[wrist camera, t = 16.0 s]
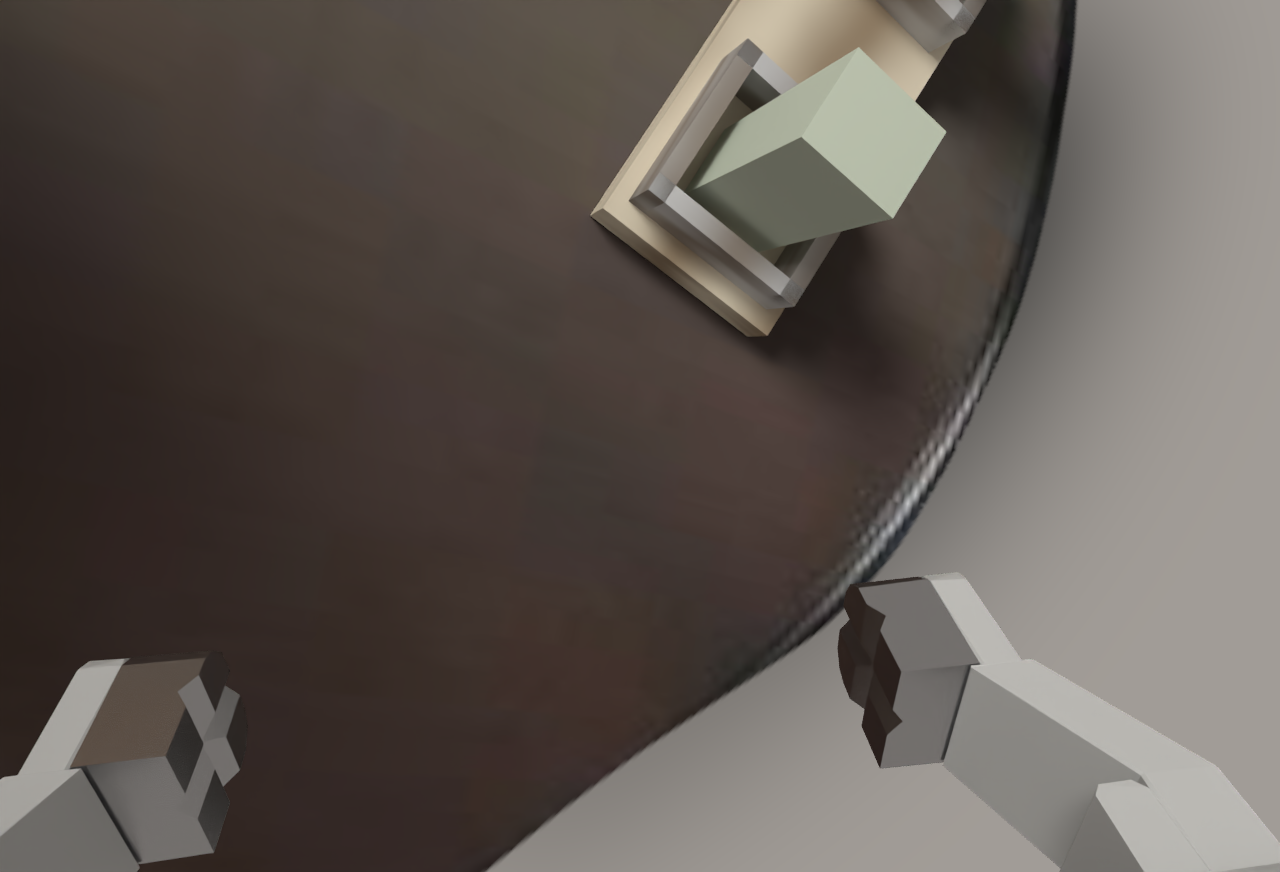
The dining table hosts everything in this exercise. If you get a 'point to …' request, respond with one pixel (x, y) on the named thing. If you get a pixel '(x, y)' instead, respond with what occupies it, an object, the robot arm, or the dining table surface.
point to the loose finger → (818, 157)
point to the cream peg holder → (732, 89)
